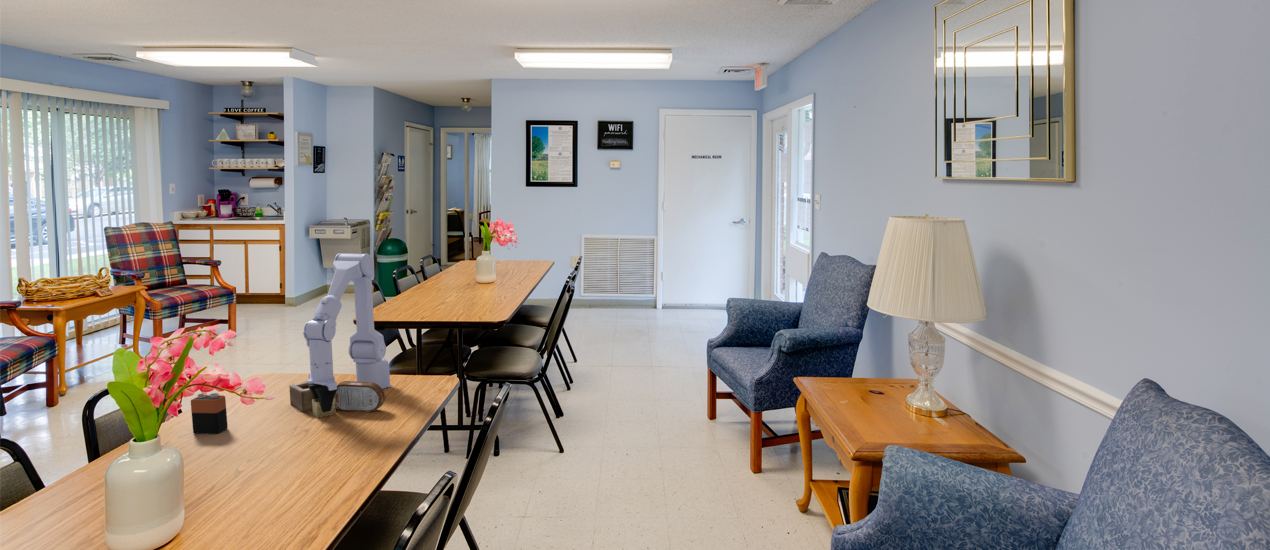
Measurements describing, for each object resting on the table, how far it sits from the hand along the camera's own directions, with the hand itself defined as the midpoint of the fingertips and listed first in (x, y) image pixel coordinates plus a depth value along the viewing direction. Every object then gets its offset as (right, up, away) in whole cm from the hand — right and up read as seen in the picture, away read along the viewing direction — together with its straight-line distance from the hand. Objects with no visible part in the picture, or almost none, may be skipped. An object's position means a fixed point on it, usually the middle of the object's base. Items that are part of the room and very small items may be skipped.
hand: (324, 409), depth 192 cm
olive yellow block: (0, -1, 0) cm, 1 cm away
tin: (+8, -1, +4) cm, 9 cm away
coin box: (-7, 0, +9) cm, 11 cm away
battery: (-24, -3, -13) cm, 27 cm away
